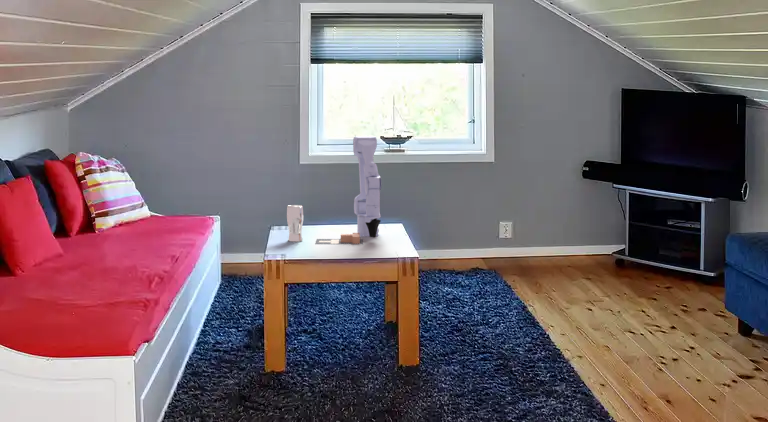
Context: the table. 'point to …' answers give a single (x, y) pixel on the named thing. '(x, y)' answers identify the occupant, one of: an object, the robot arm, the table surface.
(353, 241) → the t block
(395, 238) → the table surface
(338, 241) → the t mat
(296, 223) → the beer glass
